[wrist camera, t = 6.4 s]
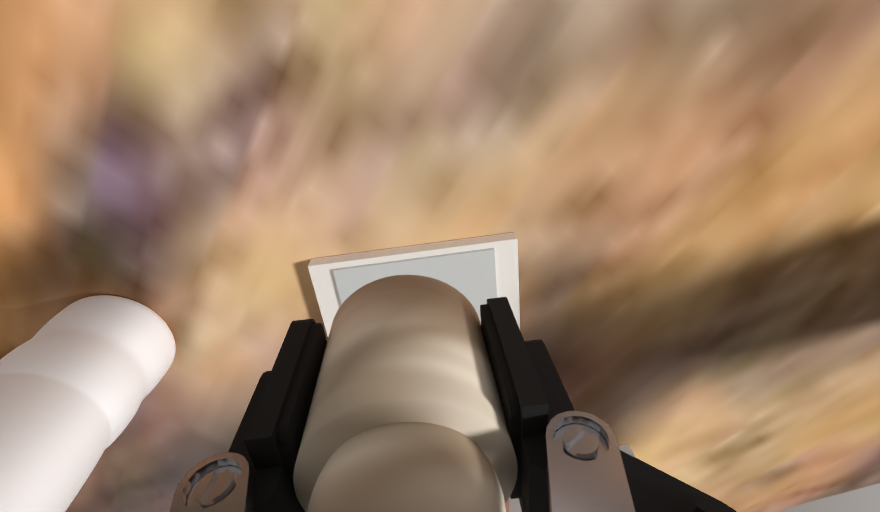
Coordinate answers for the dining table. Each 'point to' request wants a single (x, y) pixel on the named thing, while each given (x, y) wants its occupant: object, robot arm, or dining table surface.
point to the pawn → (405, 408)
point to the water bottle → (74, 396)
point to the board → (453, 262)
